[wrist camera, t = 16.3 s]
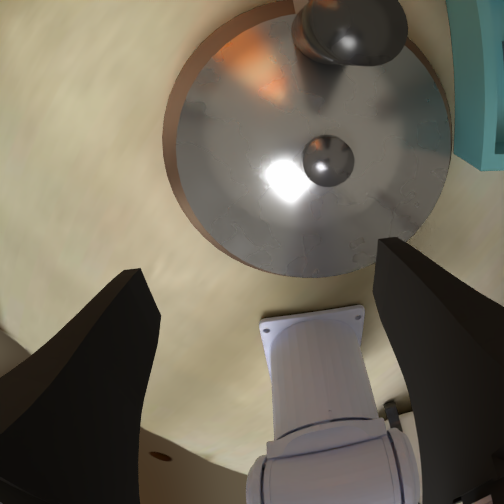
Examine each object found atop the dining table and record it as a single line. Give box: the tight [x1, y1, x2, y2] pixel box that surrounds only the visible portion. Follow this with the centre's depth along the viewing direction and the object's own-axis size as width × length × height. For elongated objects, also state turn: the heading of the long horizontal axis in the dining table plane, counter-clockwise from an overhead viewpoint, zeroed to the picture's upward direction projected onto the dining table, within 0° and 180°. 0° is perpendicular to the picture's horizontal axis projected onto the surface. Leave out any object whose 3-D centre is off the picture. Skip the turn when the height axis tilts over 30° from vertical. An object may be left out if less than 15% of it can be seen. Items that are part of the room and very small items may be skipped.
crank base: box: [162, 0, 452, 277], centre depth 16 cm, size 16×16×1 cm
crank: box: [176, 0, 451, 278], centre depth 12 cm, size 14×14×6 cm
